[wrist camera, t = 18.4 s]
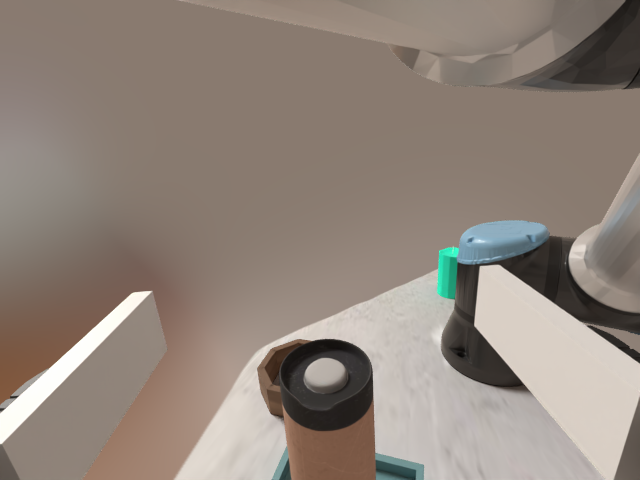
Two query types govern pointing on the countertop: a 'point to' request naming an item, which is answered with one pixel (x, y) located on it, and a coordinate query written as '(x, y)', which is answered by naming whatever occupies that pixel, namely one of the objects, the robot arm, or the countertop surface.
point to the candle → (447, 272)
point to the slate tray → (391, 473)
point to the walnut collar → (274, 374)
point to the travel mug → (329, 411)
